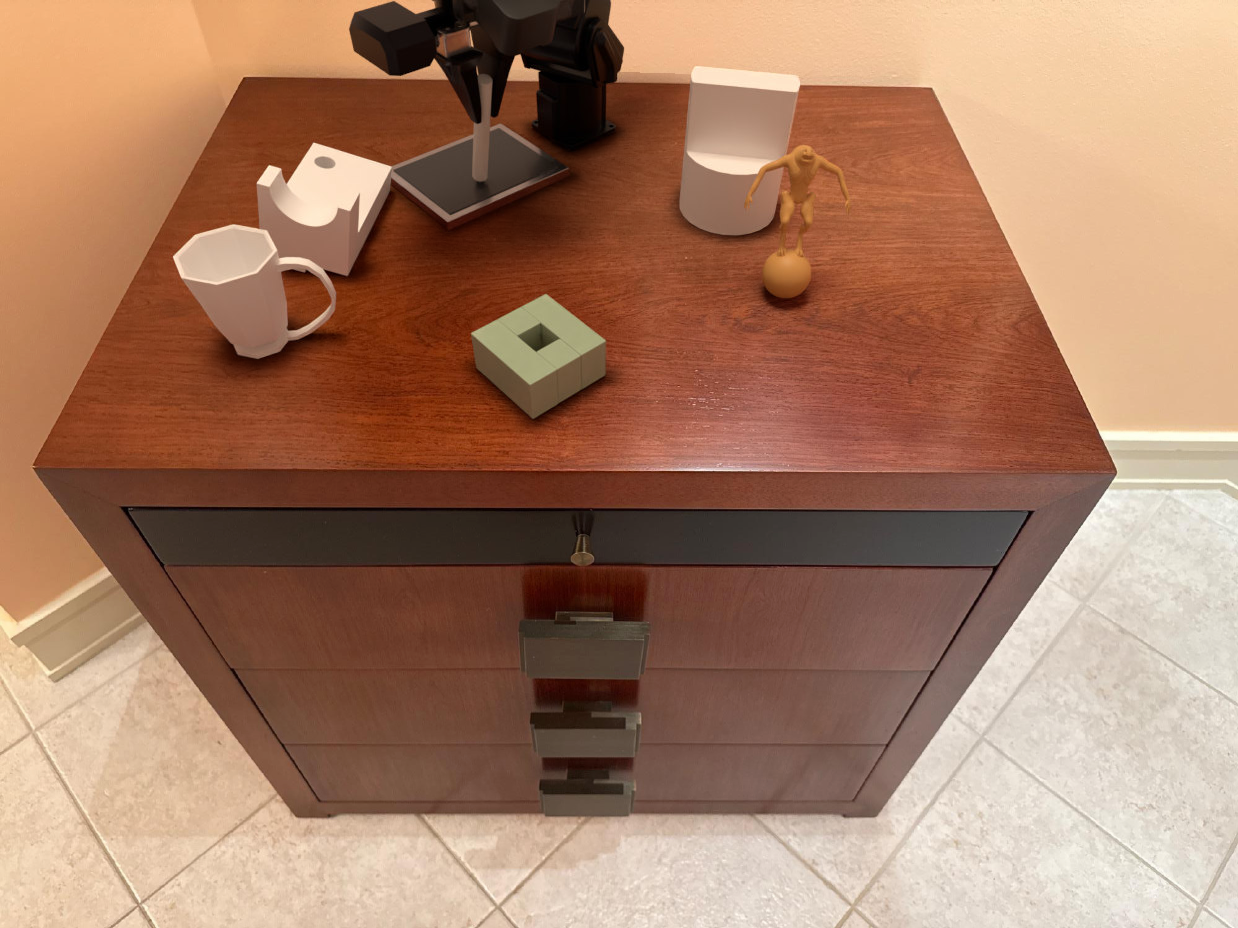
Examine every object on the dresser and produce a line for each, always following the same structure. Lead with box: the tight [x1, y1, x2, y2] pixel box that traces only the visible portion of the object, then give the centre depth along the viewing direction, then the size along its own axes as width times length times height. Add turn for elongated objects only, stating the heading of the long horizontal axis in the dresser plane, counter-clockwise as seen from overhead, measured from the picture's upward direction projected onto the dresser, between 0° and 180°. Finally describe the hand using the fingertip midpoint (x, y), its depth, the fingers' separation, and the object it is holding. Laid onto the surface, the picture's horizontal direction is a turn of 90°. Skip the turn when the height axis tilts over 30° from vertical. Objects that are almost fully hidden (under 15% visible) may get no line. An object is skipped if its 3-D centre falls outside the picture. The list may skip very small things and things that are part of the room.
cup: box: [172, 223, 337, 360], centre depth 60 cm, size 7×10×8 cm
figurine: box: [744, 144, 851, 299], centre depth 64 cm, size 8×6×12 cm
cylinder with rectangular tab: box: [678, 65, 801, 236], centre depth 71 cm, size 9×9×12 cm
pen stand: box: [470, 293, 607, 420], centre depth 60 cm, size 7×7×4 cm
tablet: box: [390, 123, 570, 231], centre depth 78 cm, size 14×11×1 cm
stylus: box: [472, 74, 492, 183], centre depth 71 cm, size 1×1×11 cm
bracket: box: [256, 142, 392, 277], centre depth 69 cm, size 13×7×8 cm, turn 175°
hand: (484, 119), depth 70 cm, fingers closed on stylus, 1 cm apart
